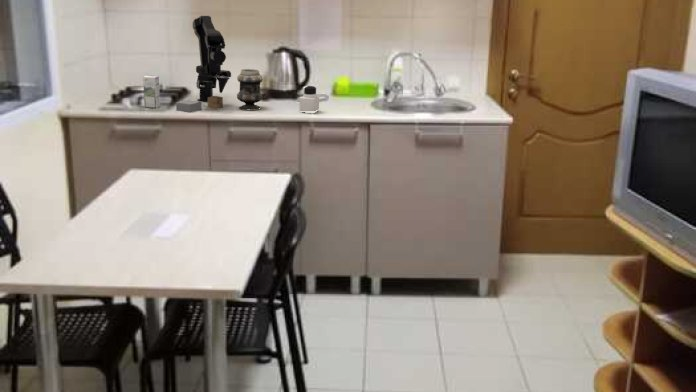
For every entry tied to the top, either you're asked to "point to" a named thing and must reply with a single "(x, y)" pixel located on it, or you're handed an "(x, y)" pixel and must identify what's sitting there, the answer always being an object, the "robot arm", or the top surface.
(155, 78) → the syrup box
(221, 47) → the robot arm
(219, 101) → the walnut cube
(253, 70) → the apothecary jar
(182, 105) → the stoneware block
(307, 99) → the medicine bottle
